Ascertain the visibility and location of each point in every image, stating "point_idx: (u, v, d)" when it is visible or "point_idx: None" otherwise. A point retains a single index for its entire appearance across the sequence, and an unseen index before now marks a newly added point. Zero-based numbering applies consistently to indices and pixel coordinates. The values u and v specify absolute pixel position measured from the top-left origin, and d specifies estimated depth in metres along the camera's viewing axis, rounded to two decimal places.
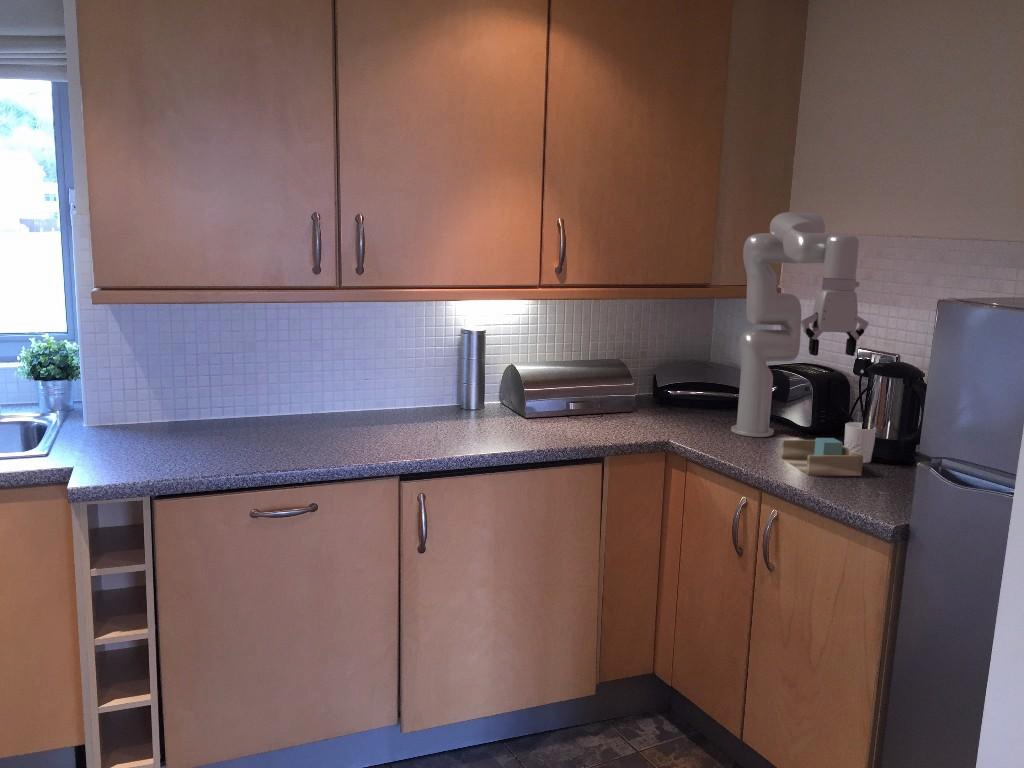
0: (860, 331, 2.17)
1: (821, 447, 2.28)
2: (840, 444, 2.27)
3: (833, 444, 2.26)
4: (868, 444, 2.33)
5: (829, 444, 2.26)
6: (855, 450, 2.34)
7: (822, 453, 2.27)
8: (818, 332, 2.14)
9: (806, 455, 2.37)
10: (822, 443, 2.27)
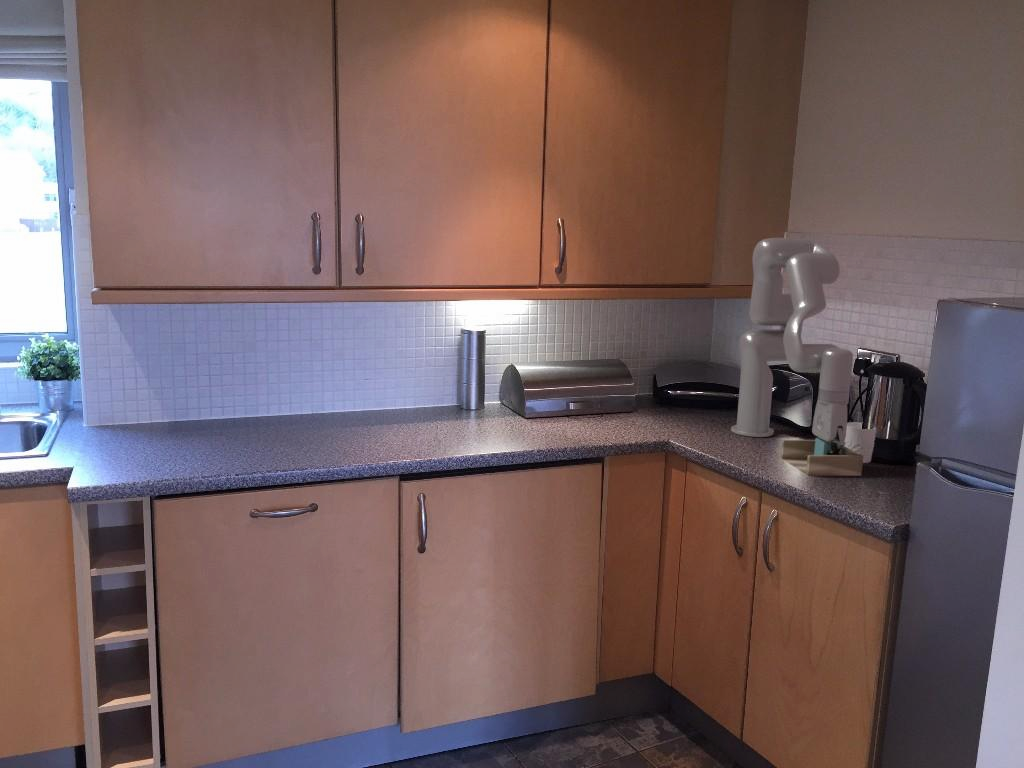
0: None
1: (821, 447, 2.28)
2: None
3: (833, 444, 2.26)
4: (868, 444, 2.33)
5: None
6: (855, 450, 2.34)
7: (822, 453, 2.27)
8: None
9: (806, 455, 2.37)
10: (822, 443, 2.27)
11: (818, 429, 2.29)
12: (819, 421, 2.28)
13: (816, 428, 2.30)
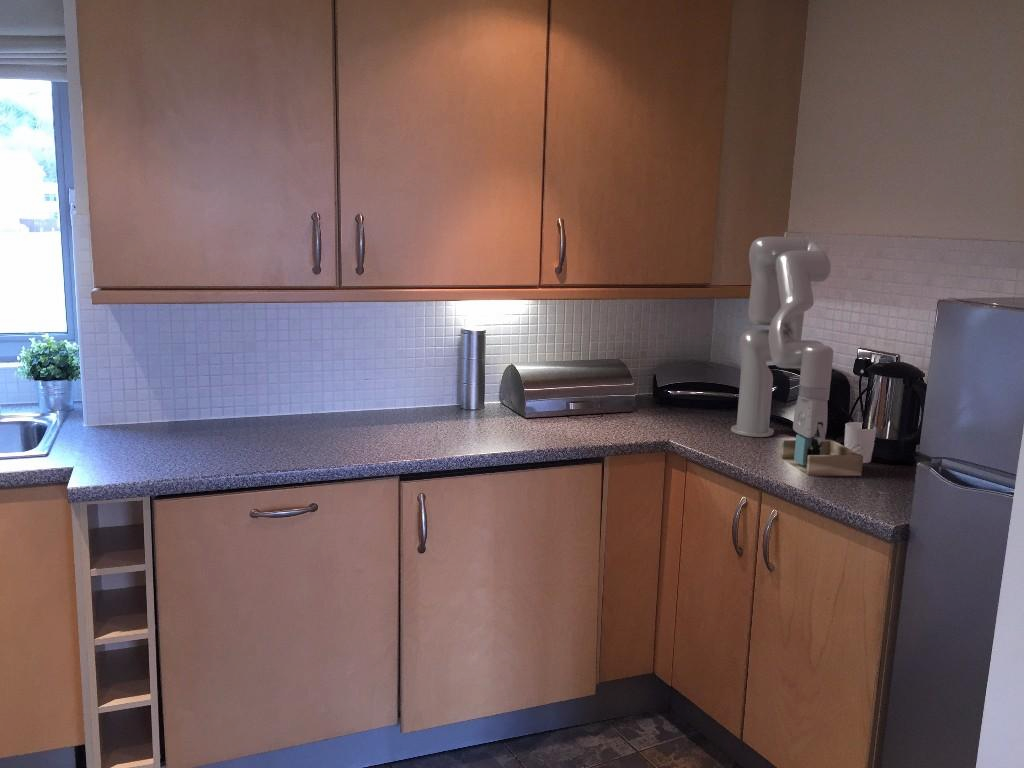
0: None
1: (801, 444, 2.27)
2: None
3: (814, 441, 2.26)
4: (868, 444, 2.33)
5: None
6: (855, 450, 2.34)
7: (803, 450, 2.26)
8: None
9: None
10: (803, 440, 2.26)
11: (799, 426, 2.28)
12: (800, 418, 2.27)
13: (797, 425, 2.29)
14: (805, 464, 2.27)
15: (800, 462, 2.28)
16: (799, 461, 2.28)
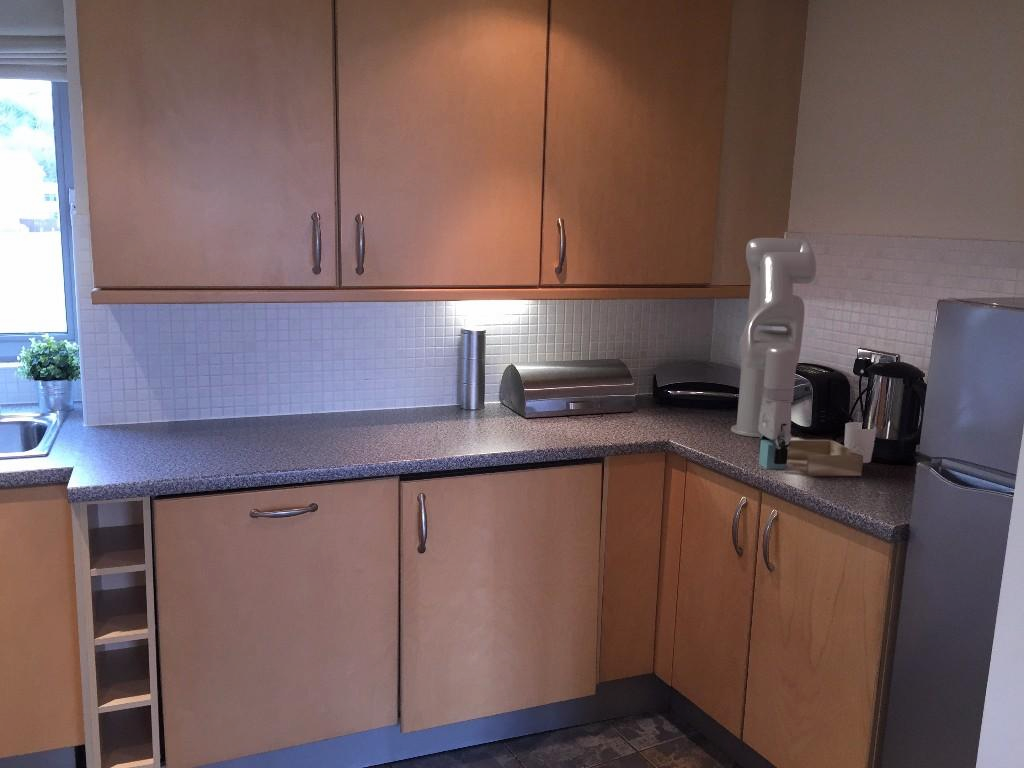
0: None
1: (765, 449, 2.26)
2: None
3: None
4: (868, 444, 2.33)
5: (773, 446, 2.25)
6: (855, 450, 2.34)
7: (766, 455, 2.25)
8: None
9: (806, 455, 2.37)
10: (766, 445, 2.25)
11: (763, 427, 2.27)
12: (764, 419, 2.26)
13: (761, 426, 2.28)
14: None
15: None
16: None
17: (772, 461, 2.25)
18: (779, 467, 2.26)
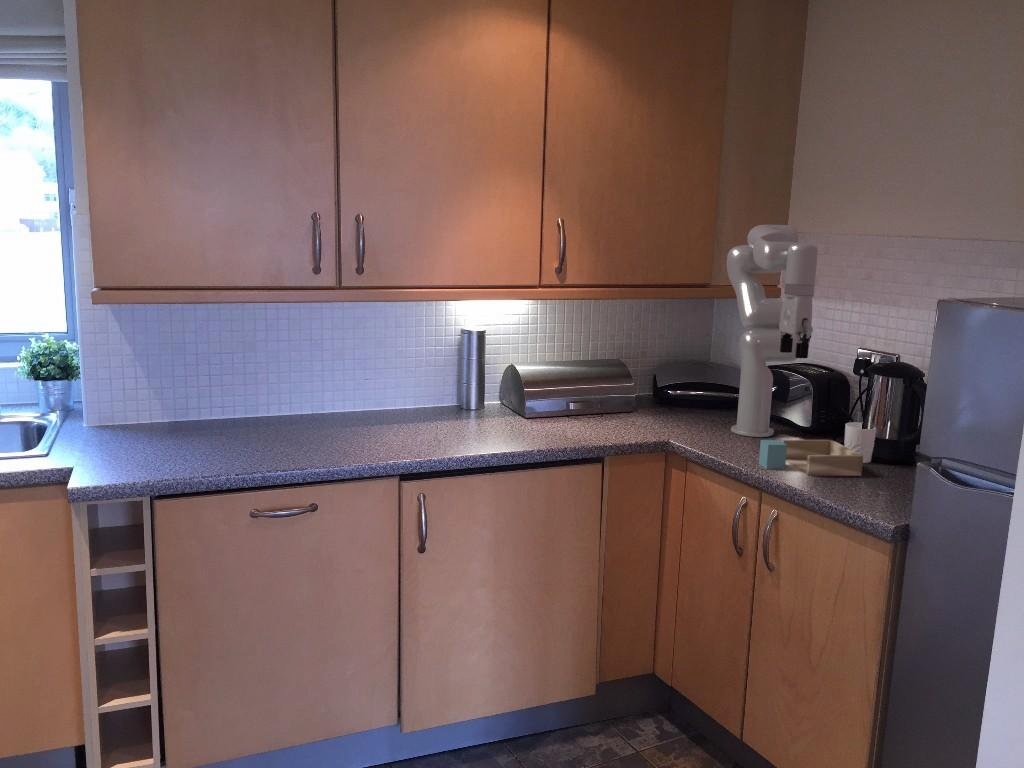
0: None
1: (765, 449, 2.26)
2: (784, 446, 2.25)
3: (777, 446, 2.25)
4: (868, 444, 2.33)
5: (773, 446, 2.25)
6: (855, 450, 2.34)
7: (766, 455, 2.25)
8: None
9: (806, 455, 2.37)
10: (766, 445, 2.25)
11: (784, 324, 2.33)
12: (785, 316, 2.33)
13: (783, 324, 2.34)
14: None
15: None
16: None
17: (772, 461, 2.25)
18: (779, 467, 2.26)
